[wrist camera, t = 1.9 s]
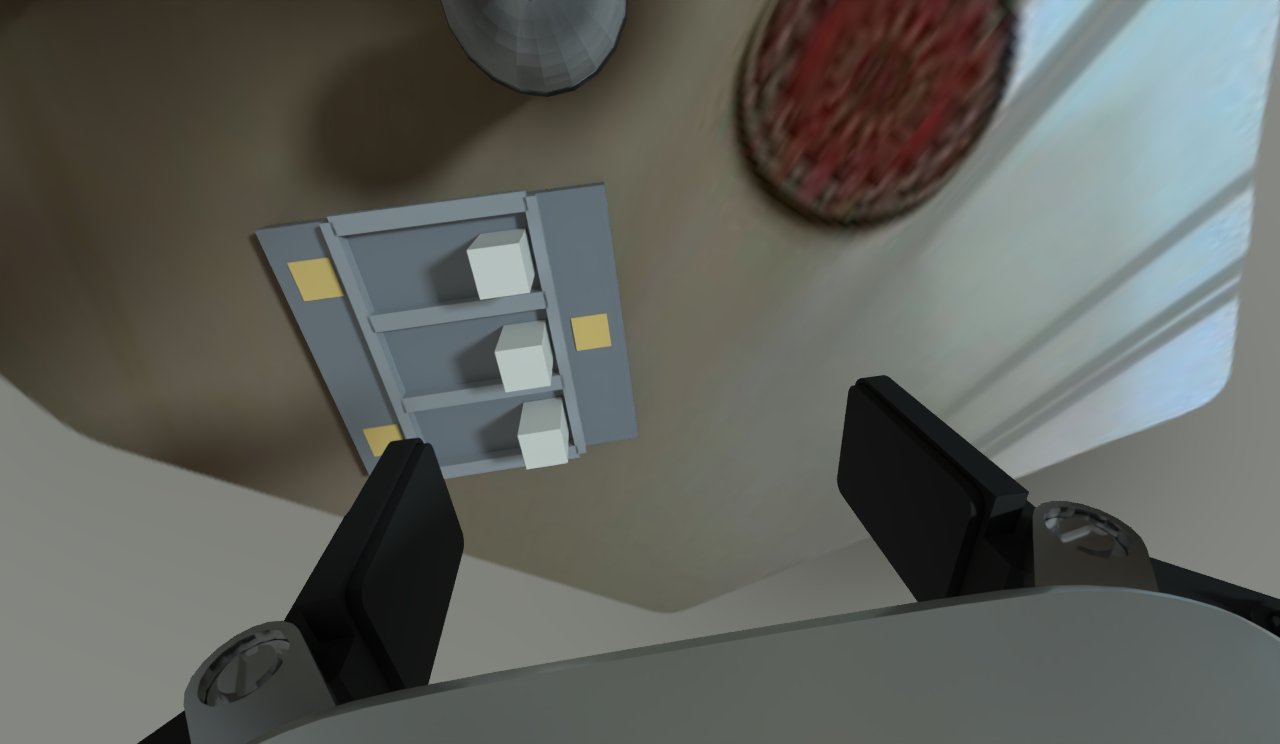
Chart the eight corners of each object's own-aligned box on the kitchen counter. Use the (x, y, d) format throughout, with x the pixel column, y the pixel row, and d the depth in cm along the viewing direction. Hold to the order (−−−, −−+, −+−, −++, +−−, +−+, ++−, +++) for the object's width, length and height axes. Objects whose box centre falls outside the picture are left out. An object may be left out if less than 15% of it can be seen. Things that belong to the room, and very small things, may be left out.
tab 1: (525, 227, 32) (518, 243, 28) (535, 272, 34) (529, 292, 30) (480, 233, 32) (466, 250, 28) (491, 278, 34) (480, 299, 30)
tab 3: (562, 396, 38) (560, 429, 34) (568, 428, 40) (567, 462, 36) (523, 402, 38) (517, 435, 34) (531, 434, 40) (526, 469, 36)
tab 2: (545, 319, 35) (541, 344, 31) (553, 356, 37) (550, 385, 33) (503, 325, 35) (494, 351, 31) (513, 362, 37) (505, 392, 33)
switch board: (602, 176, 33) (604, 180, 31) (636, 430, 43) (640, 447, 40) (265, 220, 32) (241, 228, 30) (379, 471, 41) (368, 490, 39)
